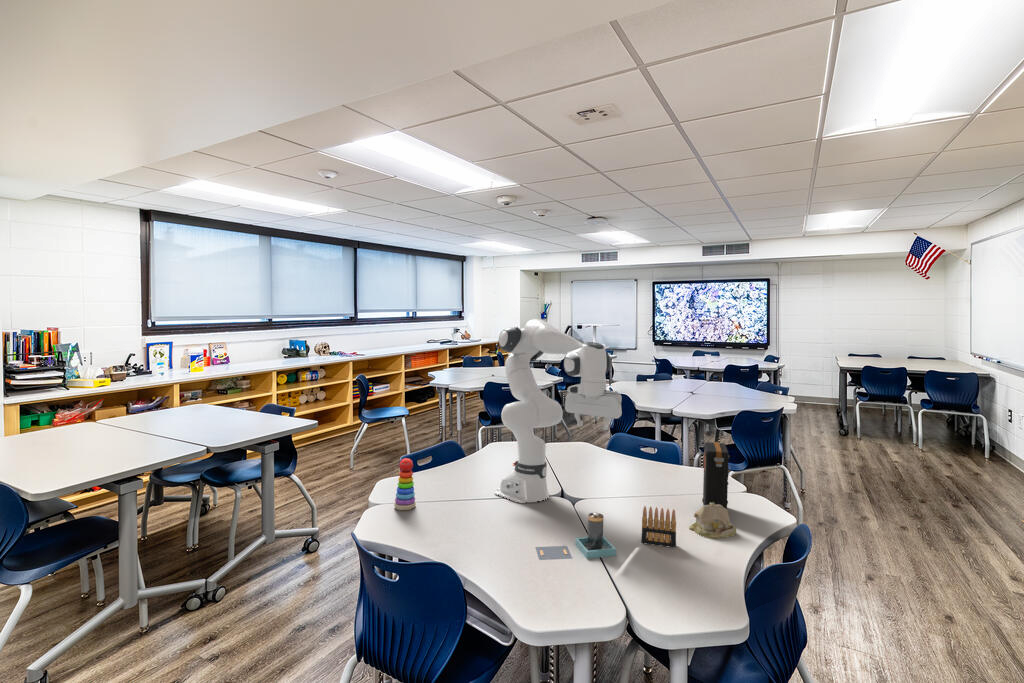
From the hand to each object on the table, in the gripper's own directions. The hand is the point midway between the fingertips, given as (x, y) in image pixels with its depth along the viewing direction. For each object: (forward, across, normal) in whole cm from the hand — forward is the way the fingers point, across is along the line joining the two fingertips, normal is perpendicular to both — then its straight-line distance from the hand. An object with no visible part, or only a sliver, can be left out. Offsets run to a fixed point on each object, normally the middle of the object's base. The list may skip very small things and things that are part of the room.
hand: (592, 427), depth 171 cm
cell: (+32, -11, +22) cm, 40 cm away
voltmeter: (+34, -36, -33) cm, 60 cm away
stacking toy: (+34, +64, +27) cm, 78 cm away
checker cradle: (+33, -1, +30) cm, 45 cm away
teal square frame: (+33, -11, +22) cm, 41 cm away
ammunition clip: (+34, -26, +5) cm, 42 cm away
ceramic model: (+34, -38, -15) cm, 53 cm away
